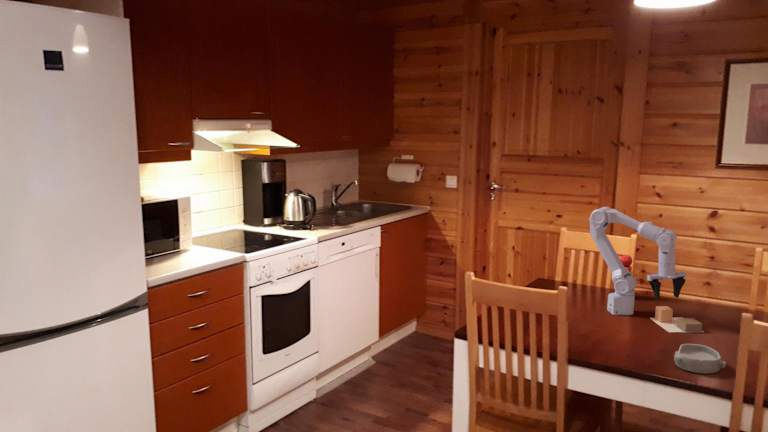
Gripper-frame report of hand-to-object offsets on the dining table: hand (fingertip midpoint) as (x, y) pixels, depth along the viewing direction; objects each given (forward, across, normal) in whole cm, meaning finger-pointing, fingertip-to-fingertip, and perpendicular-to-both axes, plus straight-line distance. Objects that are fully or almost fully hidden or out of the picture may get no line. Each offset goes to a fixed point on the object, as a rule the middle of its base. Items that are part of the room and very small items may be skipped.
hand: (666, 297), depth 222 cm
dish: (+12, -12, -37) cm, 40 cm away
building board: (+10, +1, -4) cm, 11 cm away
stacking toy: (+9, 0, +32) cm, 34 cm away
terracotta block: (+9, -1, 0) cm, 9 cm away
